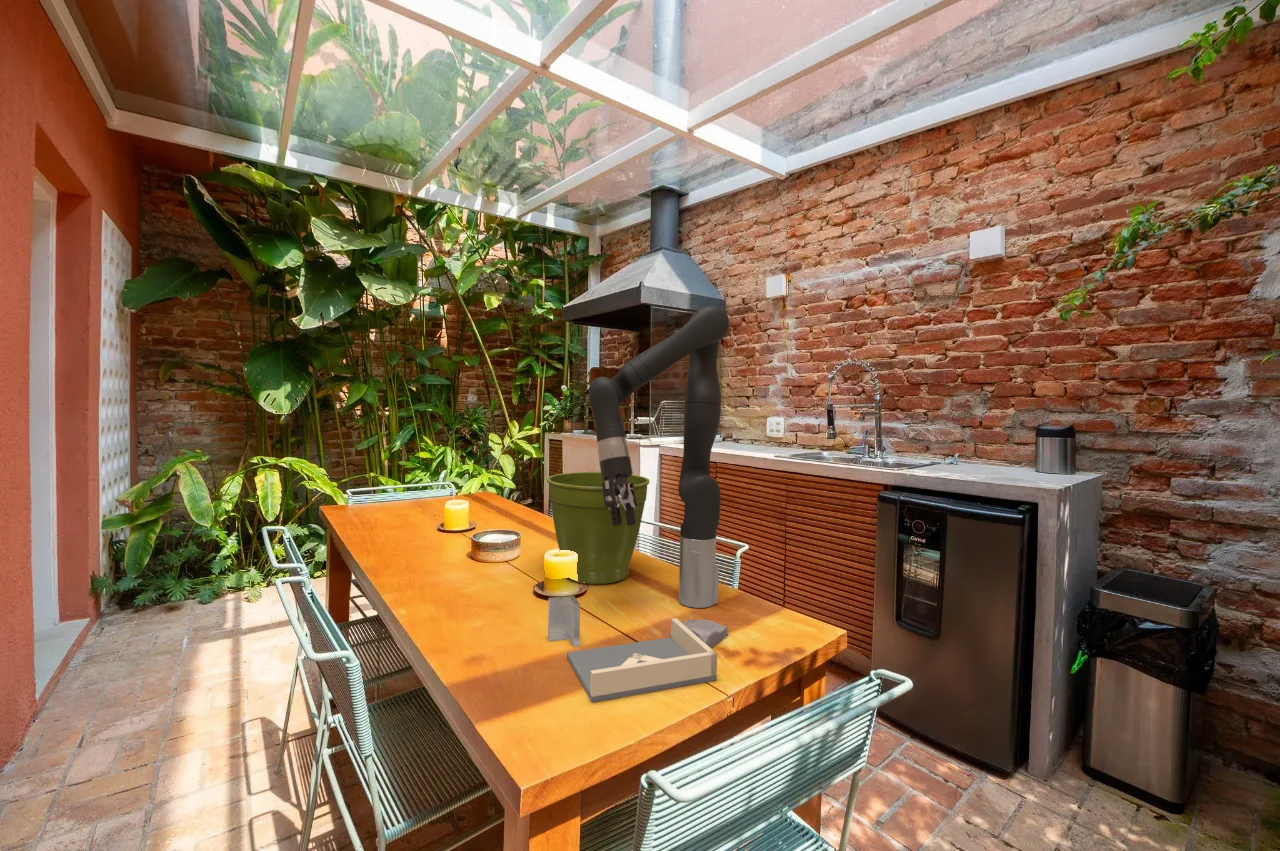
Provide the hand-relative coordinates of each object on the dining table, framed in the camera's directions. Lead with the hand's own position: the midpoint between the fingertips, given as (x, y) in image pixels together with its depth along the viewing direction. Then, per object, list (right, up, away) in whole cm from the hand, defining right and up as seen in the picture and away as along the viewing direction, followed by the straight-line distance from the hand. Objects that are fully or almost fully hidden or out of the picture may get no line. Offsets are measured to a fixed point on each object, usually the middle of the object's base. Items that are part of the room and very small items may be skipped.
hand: (625, 525), depth 134 cm
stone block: (+16, -24, -10) cm, 30 cm away
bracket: (-13, -22, -13) cm, 29 cm away
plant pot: (-9, -21, +33) cm, 40 cm away
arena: (+3, -23, -24) cm, 34 cm away
